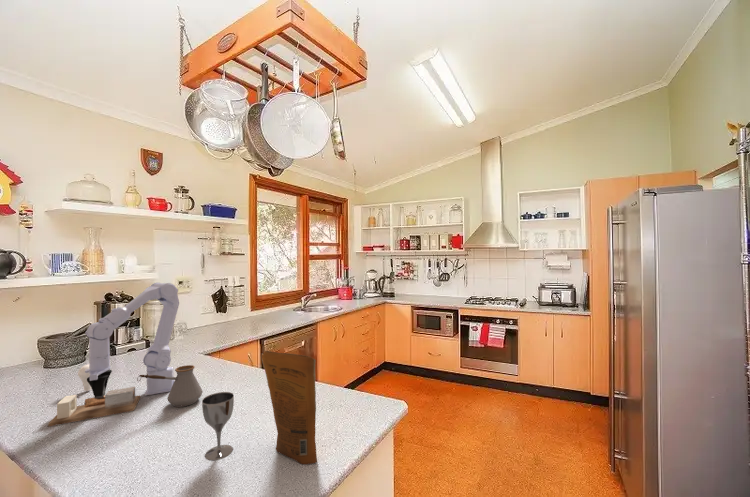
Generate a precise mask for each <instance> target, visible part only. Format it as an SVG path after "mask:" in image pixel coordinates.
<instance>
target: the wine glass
mask: <svg viewBox="0 0 750 497" xmlns="http://www.w3.org/2000/svg"><path fill="white" fill-rule="evenodd" d="M234 399H235V396H234V393H233V392H230V391H218V392H215V393H211V394H209V395H207V396H205V397H204V398H202V400H201V403H202V404H201V407H202V408H201V409H202V415H203V420H204V421H205V423H206V424H207V425H208V426H209V427H211V428H212V429H213V430H214V431H215V436H216V442H217V445H215V446H214V447H212V448H210V449H208V450H207V451H206V452H205V454H204V458H205V460H208V461H218V460H221V459H222V460H223V459H224V458H226V457H228V456H229V455H231V453H233V451H234V448H233V446H232V445H230V444H221V441H222V440H221V437H222V431H223V428H225V426H226V424H227V423H228V422H229V421H230V419H231V417H232V414H233V411H234V405H235V404H234V403H235V400H234Z"/></svg>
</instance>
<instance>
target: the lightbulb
mask: <svg viewBox="0 0 750 497" xmlns="http://www.w3.org/2000/svg"><path fill="white" fill-rule="evenodd" d="M87 369H89V363H87V364H84V365H82V366H81V368H79V369H78V372H77V376H78V378H79V379H80V380H81V382H82V386H83V391H84V392H90V391H91V390H92V388H91V386H90V384H89V383H88V382H87V378H88V377H90V374H89V373H85V371H86V370H87Z"/></svg>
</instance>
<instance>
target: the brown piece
mask: <svg viewBox="0 0 750 497" xmlns="http://www.w3.org/2000/svg"><path fill="white" fill-rule="evenodd" d="M105 395H106V390H105V385H104V390H103V394H102V396H97V397H94V396H93V397H89V398H85V400H84V404H83V405H84V407H85V408H87V407H93V406H99V405H104V404H105Z"/></svg>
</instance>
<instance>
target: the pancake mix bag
mask: <svg viewBox="0 0 750 497" xmlns="http://www.w3.org/2000/svg"><path fill="white" fill-rule="evenodd" d="M261 363H262V366H263V369H264V371H265V372H264V373H265V376H266V383H267V387H268V391H269V396H270V400H271V406H272V411H273V417H274V422H275V428H276V431H277V437H276V447H275V451H276V453H278V454H281V455H282V456H285V457H287V458H288V459H290V460H293V461H294V462H296V463H298V464H300V465H307V466H308V465H312V464H316V463H318V457H317V445H316V444H317V443H316V419H317V418H316V416H317V401H316V396H317V392H316V359H315V358H313V357H312V356H307V355H303V354H296V353H287V352H276V351H270V350H264V351H263V353H261Z"/></svg>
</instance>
